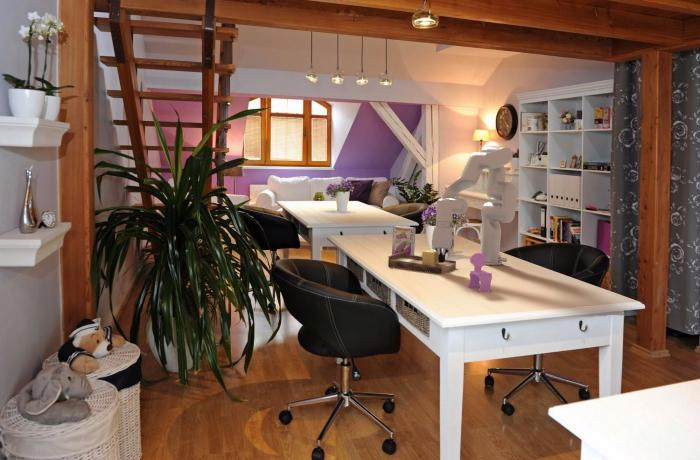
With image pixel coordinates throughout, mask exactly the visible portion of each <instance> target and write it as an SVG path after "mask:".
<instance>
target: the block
mask: <svg viewBox="0 0 700 460" xmlns="http://www.w3.org/2000/svg"><path fill="white" fill-rule="evenodd" d="M438 255H439V254H438V253H437V251H436V250H433V249H426V250H423V251H422V264H429V265H435V264H438V263H439V260H438Z"/></svg>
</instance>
